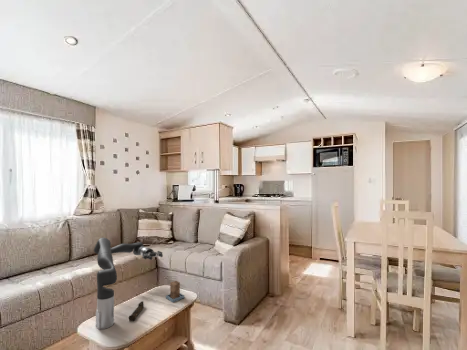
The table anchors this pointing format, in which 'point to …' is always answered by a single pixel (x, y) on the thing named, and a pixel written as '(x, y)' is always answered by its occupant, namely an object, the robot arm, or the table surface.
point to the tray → (175, 298)
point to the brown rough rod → (136, 311)
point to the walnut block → (174, 289)
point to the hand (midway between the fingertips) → (156, 257)
